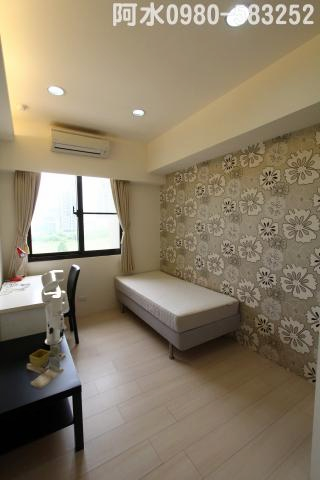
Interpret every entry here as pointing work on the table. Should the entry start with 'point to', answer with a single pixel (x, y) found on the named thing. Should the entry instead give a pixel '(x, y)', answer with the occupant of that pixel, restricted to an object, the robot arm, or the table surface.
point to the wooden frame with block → (53, 352)
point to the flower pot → (39, 358)
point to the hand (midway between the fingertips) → (56, 334)
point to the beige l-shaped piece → (49, 372)
